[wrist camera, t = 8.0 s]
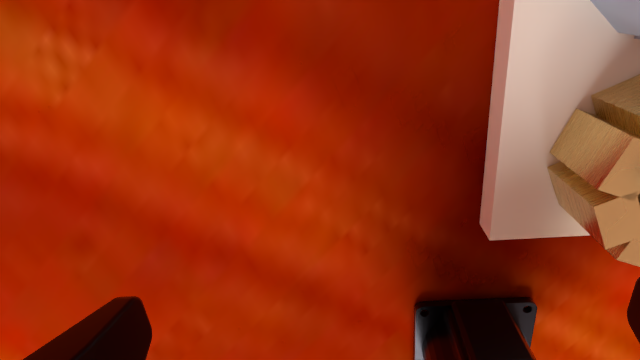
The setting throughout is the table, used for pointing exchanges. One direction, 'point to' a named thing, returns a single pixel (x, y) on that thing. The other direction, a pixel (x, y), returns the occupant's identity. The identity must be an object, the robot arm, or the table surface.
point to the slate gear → (621, 15)
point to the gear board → (543, 107)
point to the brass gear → (603, 169)
